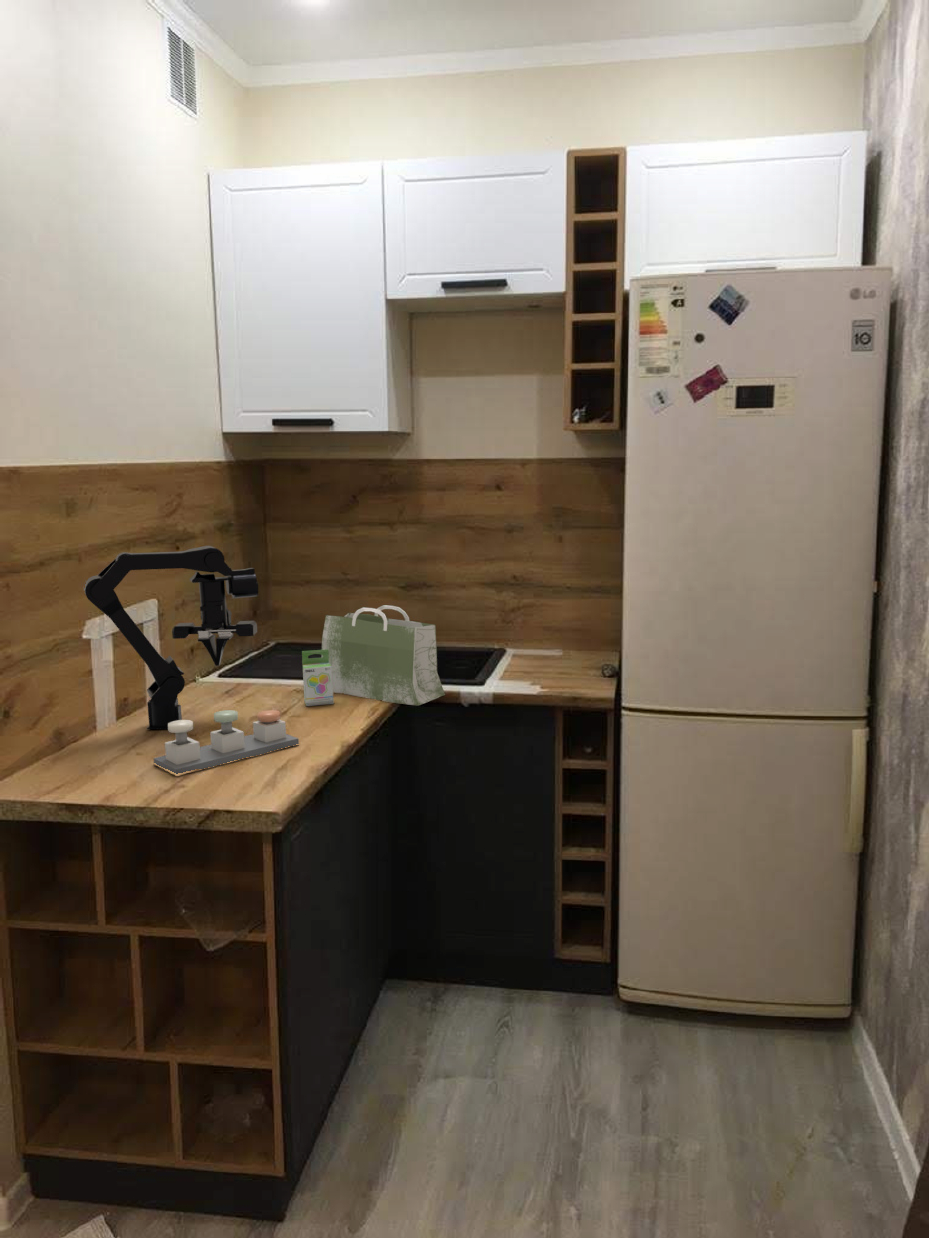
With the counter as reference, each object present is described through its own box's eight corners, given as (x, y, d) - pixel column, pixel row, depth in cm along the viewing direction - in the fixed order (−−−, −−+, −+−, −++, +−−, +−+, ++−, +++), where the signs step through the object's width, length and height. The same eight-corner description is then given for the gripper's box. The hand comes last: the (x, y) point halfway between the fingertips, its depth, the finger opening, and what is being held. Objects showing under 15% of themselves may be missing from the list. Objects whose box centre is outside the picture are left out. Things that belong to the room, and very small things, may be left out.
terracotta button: (254, 733, 203) (253, 713, 202) (273, 729, 206) (272, 708, 205) (265, 738, 199) (264, 717, 199) (285, 733, 202) (284, 712, 202)
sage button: (211, 734, 196) (209, 713, 195) (231, 729, 199) (230, 708, 198) (222, 739, 192) (220, 717, 192) (243, 734, 196) (241, 713, 195)
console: (154, 765, 191) (152, 741, 190) (274, 735, 209) (272, 713, 209) (176, 776, 184) (174, 752, 183) (298, 745, 202) (297, 722, 201)
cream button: (165, 745, 189) (163, 723, 188) (187, 740, 192) (186, 718, 192) (176, 750, 186) (174, 727, 185) (198, 745, 189) (196, 722, 188)
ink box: (305, 706, 233) (303, 654, 231) (304, 703, 237) (301, 651, 235) (333, 704, 235) (331, 651, 233) (331, 700, 239) (329, 648, 236)
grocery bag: (448, 694, 243) (445, 605, 239) (417, 706, 231) (414, 613, 227) (351, 680, 260) (347, 597, 256) (318, 691, 248) (313, 605, 244)
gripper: (259, 593, 228) (263, 656, 230) (181, 596, 227) (186, 659, 230) (250, 600, 217) (255, 667, 219) (169, 603, 216) (174, 669, 219)
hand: (217, 665), depth 222 cm, fingers closed
